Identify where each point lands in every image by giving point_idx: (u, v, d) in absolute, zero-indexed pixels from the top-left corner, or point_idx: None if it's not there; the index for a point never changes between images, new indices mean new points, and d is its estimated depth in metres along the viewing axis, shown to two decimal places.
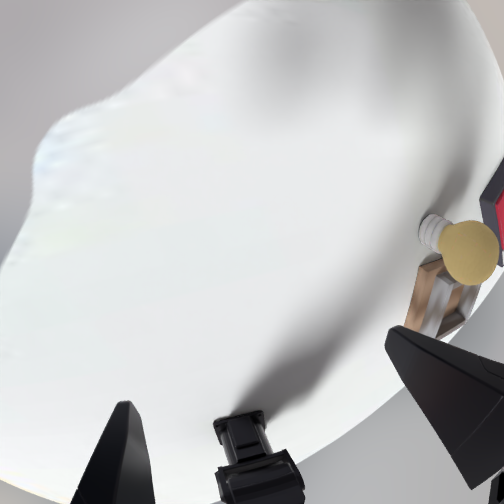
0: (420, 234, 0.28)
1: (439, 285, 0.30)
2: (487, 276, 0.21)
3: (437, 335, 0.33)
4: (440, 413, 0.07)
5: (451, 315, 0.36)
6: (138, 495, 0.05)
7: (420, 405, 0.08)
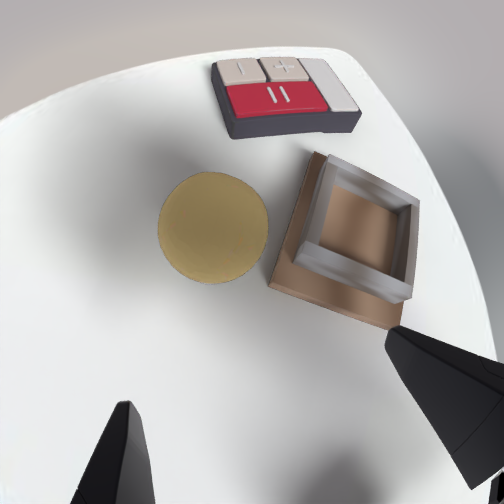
0: (203, 283, 0.22)
1: (306, 263, 0.22)
2: (231, 219, 0.14)
3: (403, 274, 0.22)
4: (440, 413, 0.07)
5: (398, 226, 0.26)
6: (138, 495, 0.05)
7: (420, 405, 0.08)
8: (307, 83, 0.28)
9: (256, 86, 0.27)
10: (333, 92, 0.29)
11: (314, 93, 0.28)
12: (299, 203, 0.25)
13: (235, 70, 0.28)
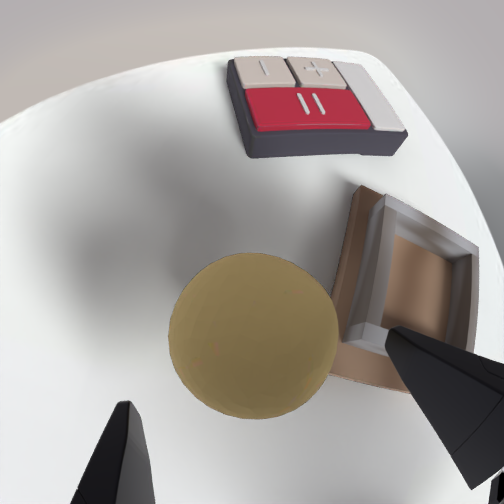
0: None
1: (361, 345, 0.16)
2: (297, 355, 0.08)
3: (463, 343, 0.16)
4: (440, 413, 0.07)
5: (454, 279, 0.19)
6: (138, 495, 0.05)
7: (420, 405, 0.08)
8: (345, 92, 0.22)
9: (283, 91, 0.21)
10: (375, 106, 0.23)
11: (354, 105, 0.22)
12: (348, 259, 0.19)
13: (257, 70, 0.22)
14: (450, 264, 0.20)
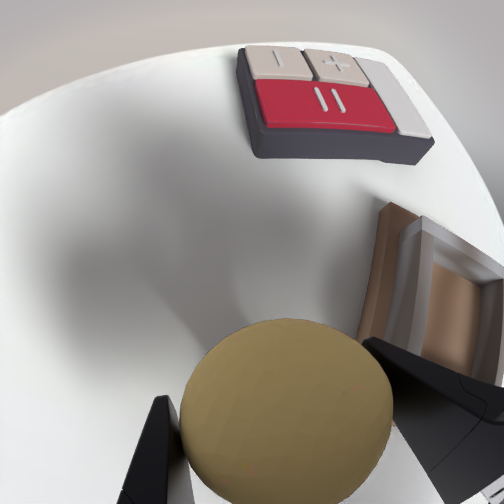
0: None
1: None
2: (353, 465, 0.05)
3: (492, 377, 0.13)
4: (415, 431, 0.07)
5: (483, 305, 0.16)
6: (182, 491, 0.05)
7: (395, 421, 0.08)
8: (368, 90, 0.19)
9: (298, 84, 0.18)
10: (400, 108, 0.20)
11: (377, 105, 0.19)
12: (379, 292, 0.16)
13: (270, 60, 0.19)
14: (479, 288, 0.17)
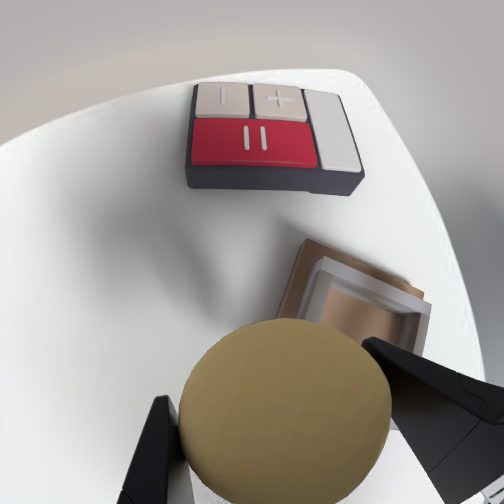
0: None
1: None
2: (352, 464, 0.05)
3: None
4: (415, 431, 0.07)
5: (401, 334, 0.20)
6: (182, 491, 0.05)
7: (395, 421, 0.08)
8: (301, 125, 0.23)
9: (231, 123, 0.23)
10: (333, 142, 0.24)
11: (305, 141, 0.23)
12: None
13: (215, 98, 0.24)
14: (400, 318, 0.21)
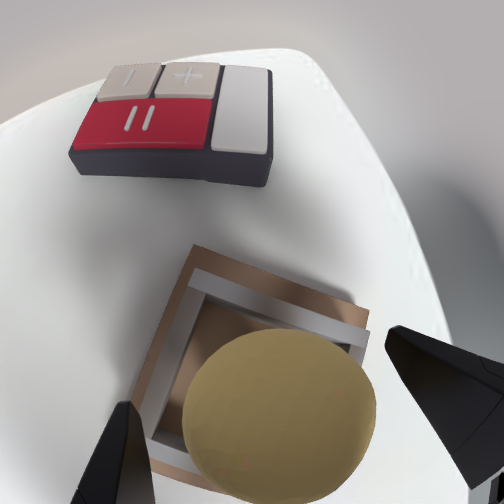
0: None
1: None
2: (337, 461, 0.06)
3: None
4: (440, 413, 0.07)
5: None
6: (138, 495, 0.05)
7: (420, 405, 0.08)
8: (201, 102, 0.19)
9: (124, 104, 0.19)
10: (237, 118, 0.19)
11: (198, 118, 0.18)
12: (152, 346, 0.15)
13: (121, 80, 0.20)
14: None
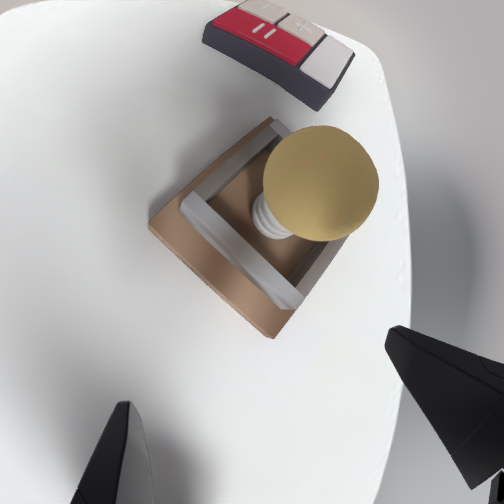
0: (263, 233, 0.21)
1: (189, 217, 0.19)
2: (362, 183, 0.13)
3: (300, 278, 0.20)
4: (440, 413, 0.07)
5: None
6: (138, 495, 0.05)
7: (420, 405, 0.08)
8: (304, 43, 0.25)
9: (256, 19, 0.24)
10: (322, 63, 0.25)
11: (299, 50, 0.24)
12: (220, 157, 0.22)
13: (258, 5, 0.25)
14: None
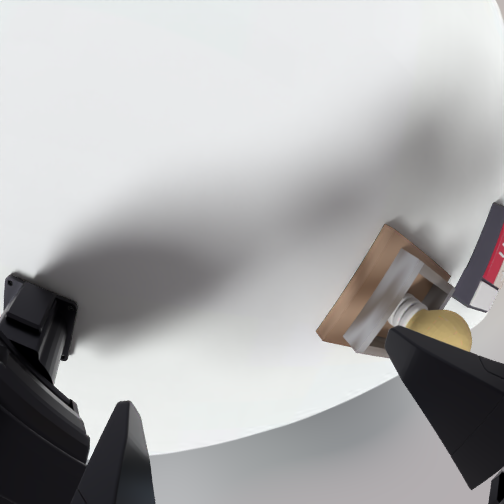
0: None
1: (403, 260, 0.23)
2: None
3: (371, 344, 0.25)
4: (440, 413, 0.07)
5: None
6: (138, 495, 0.05)
7: (420, 405, 0.08)
8: (494, 279, 0.31)
9: None
10: (483, 294, 0.31)
11: (491, 277, 0.30)
12: (430, 259, 0.26)
13: None
14: None
